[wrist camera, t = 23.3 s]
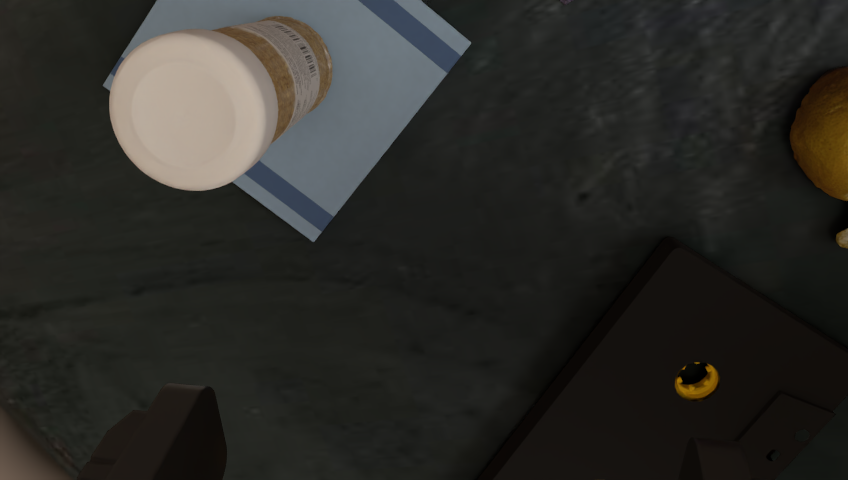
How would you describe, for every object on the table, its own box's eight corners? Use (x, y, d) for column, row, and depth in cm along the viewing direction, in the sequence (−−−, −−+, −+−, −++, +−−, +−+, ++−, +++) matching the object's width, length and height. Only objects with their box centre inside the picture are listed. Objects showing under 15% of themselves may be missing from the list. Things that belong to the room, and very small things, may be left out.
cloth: (471, 42, 34) (471, 43, 33) (314, 240, 37) (313, 242, 37) (250, -142, 32) (248, -143, 31) (105, 84, 35) (101, 85, 35)
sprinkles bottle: (218, 36, 34) (74, 65, 21) (313, 0, 33) (224, 7, 20) (259, 132, 35) (146, 215, 22) (351, 100, 34) (289, 165, 22)
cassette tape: (632, 591, 43) (641, 621, 41) (461, 496, 41) (461, 522, 39) (852, 351, 38) (875, 372, 36) (666, 232, 36) (678, 246, 34)
